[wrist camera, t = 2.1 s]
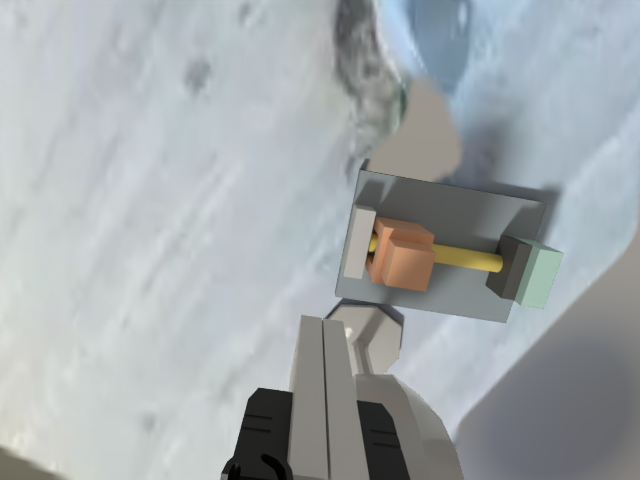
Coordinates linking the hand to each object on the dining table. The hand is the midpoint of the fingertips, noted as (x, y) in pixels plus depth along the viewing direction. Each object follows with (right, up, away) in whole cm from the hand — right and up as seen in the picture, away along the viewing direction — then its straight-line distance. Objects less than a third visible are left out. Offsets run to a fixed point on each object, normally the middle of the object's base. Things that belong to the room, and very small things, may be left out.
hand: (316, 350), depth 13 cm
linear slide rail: (+11, +3, +20) cm, 23 cm away
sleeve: (+7, +4, +19) cm, 20 cm away
